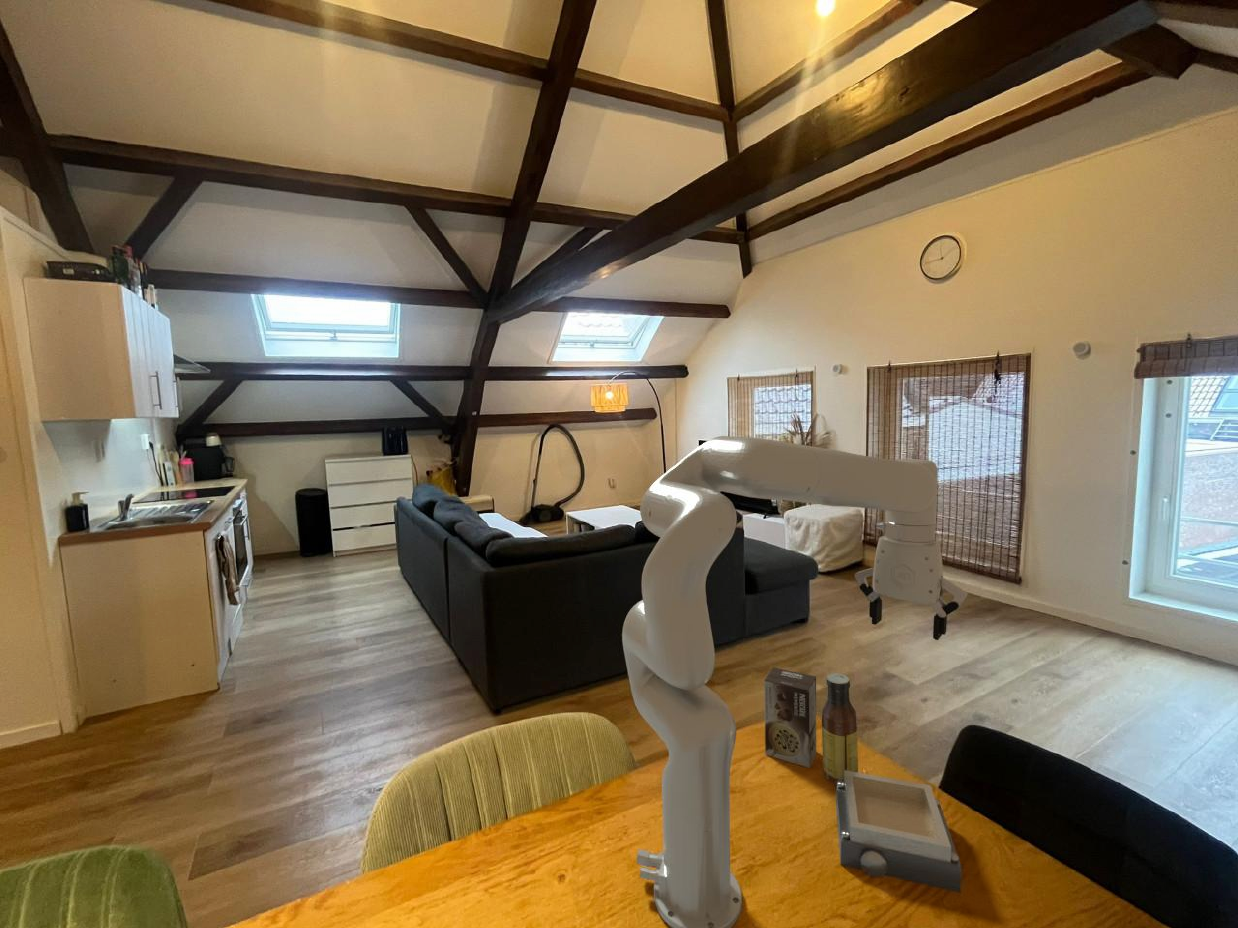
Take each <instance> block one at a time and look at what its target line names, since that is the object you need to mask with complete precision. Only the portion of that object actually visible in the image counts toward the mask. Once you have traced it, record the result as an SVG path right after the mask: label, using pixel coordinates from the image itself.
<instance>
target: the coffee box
mask: <svg viewBox="0 0 1238 928" xmlns="http://www.w3.org/2000/svg"><path fill="white" fill-rule="evenodd" d="M763 687H764V689H763V692H764V743H765V744H764V745H765V747H764V754H765V755H766V756H770V757H773V758H776V759H779V760H783V761H786V762H789V763H792V764H795V765H798V766H801V767H805V768H808V769H810V768H811V766H812V764H813V762H814V760H815V757H816V754H817V676H815V675H810V674H807V673H806V674H805V673H802V672H797V671H792V670H788V669H783V668H778V667H772V668H771V669H770V672H769V673H768V674H767V675H766V676H765V678H764V680H763Z"/></svg>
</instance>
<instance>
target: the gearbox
mask: <svg viewBox="0 0 1238 928" xmlns="http://www.w3.org/2000/svg"><path fill="white" fill-rule="evenodd" d="M835 808H836V818H837V820H836V821H837V833H838V834H837V835H838V847H839V859H840V866H844V867H848V868H852V869H856V870H861V871H864V872H865V873H866V874H867V875H868V876H870V877H873V878H880V877H883V876H888V877H891V878H895V879H899V880H904V881H908V882H913V883H917V884H921V885H925V886H931V887H934V888H939V889H943V890H948V891H952V892H957V893H960V894H961V891H962V889H961V887H962V864H961V862H960V856H959V855H958V853H957V850H956V847H955V844H954V842H953V838H952V835H951V832H950V829H949V826H948V823H947V820H946V817H945V814H944V811H943V809H942V804H941V801H940V799H939V798H935V793H934V792H933V789H932V786H931V784H925V783H918V782H913V781H907V780H902V779H895V778H892V777H891V778H890V777H884V776H878V775H874V774H873V775H872V774H867V773H861V772H858V773H857V772H851V771H846V770H844V782H843V781H836V784H835Z"/></svg>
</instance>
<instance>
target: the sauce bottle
mask: <svg viewBox="0 0 1238 928" xmlns="http://www.w3.org/2000/svg"><path fill="white" fill-rule="evenodd" d="M826 685H827V700H826V702H825V704H824V707H823V709H822V713H821V738H822V739H821V743H822V767H823V773H824V776H825V778H826V779H827V780H828V781H829V782H831V783H832V784H834V785H836V781H843V782H844V770H846V771H851V772H857V773H859V746H858V744H859V743H858V726H857V712H856V709H855V708H854V706H853V703H852V702H851V700H850V699H851V698H850V687H851V680H850V678H849V677H848V676H847V675H845V674H841V673H836V672H834V673H830V674H828V675H827V676H826Z"/></svg>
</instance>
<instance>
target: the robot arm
mask: <svg viewBox="0 0 1238 928" xmlns="http://www.w3.org/2000/svg"><path fill="white" fill-rule="evenodd" d="M938 471H939V470H938V466H937V464H936V463H935V462H934V461H932V460H927V459H921V458H898V459H888V458H881V457H875V456H868V455H861V454H856V453H851V452H846V451H842V450H837V449H831V448H823V447H818V446H810V445H805V444H798V443H793V442H784V441H781V440H780V441H779V440H772V439H767V438H766V439H765V438H760V437H747V436H745V437H744V436H728V435H720V436H716V437H715V436H714V437H713V438H710V439H708V440H707V441H705V442H703V443H702V444H701V445H698V446H697V447H696V448H695V449H694V450H692V451H691V452H689V454H687V455H686V456H685V457H683V459H680V460H679V461H678V463H676V464H675V465H674V466H672V467H671V468H670V469H669V470H668V471H666V472H665V473H664V474H663V475H661V476H660V477H659V478H657V479H656V480H655V481H654V482H653V483H652V484H651V485H650V486H649V487H648V489H647V490H646V491H645V493H644V494H643V496H642V498H641V499H642V500H641V502H640V506H639V507H640V508H639V512H640V513H639V514H640V517H641V521H642V523H643V525H644V526H645V527H646V529H647V530H648V531H649V532H651V533H652V534H653V535H655V536H656V537H659V539H658V541H657V542H656V544H655V546H654V547H653V549H652V551H651V553H650V554H649V555H648V557H647V559H646V561H645V564H644V566H643V571H642V574H641V595H642V599H641V600H640V601H638V602H637V603H636V604H634V605H633V606H632V607H631V608H630V610H629V611H628V613H627V615H626V617H625V619H624V622H623V626H622V633H621V637H622V639H621V641H622V649H623V654H624V659H625V660H624V661H625V665H626V669H627V676H628V679H629V684H630V690H631V695H632V698H633V701H634V704H635V707H636V709H637V711H638V713H639V714H640V715H641V717H642V718H643V719H644V721H645V722H646V723H647V724H648V725H649V726H650V727H651V728H652V729H653V730H654V731H655V733H656V734H657V735H658V737H659V738H660V739H661V740H662V741H663V743H664V744H665V745H666V747H667V751H668V760H667V763H666V765H665V766H664V769H663V772H662V777H661V778H662V779H661V798H662V802H661V803H662V840H663V843H662V844H663V845H662V847H663V848H662V849H663V852H662V851H659V852H658V853H657V854H656V853H654V852H651V851H649V850H645V849H641V848H639V849H638V851H637V855H636V864H637V865H639V866H641V868H640V870H639V871H640V872H639V877H640V879H643V880H651V881H654V882H653V883H654V884H653V900H654V904H655V907H656V909H657V912H658V913H659V915H660V917H661V918H662V920H663V921H664V922H665V923H666V924H667V925H668V926H669V927H671V928H732V927H734V925H735V924H736V922H737V921H738V919H739V917H740V915H741V912H742V906H743V905H742V903H743V902H742V901H743V900H742V899H743V896H742V888H741V886H740V884H739V881H738V880H737V878H736V875H734V873H733V872H732V871H731V809H730V808H731V805H730V804H731V802H730V801H731V797H730V795H731V794H730V793H731V791H730V789H731V787H730V785H731V783H730V780H731V767H732V766H731V765H732V760H733V754H734V749H735V746H736V745H735V744H736V740H737V724H736V721H735V718H734V715H733V713H732V711H731V710H730V708H729V707H728V705H727V704H726V702H724V701H723V699H722V698H721V697H720V696H718V695H717V693H715V692H713V691H712V689H710V688H709V687H708V686H707V685H706V684H707V683H708V682H709V681H710V678H711V677H712V675H713V672H714V669H715V663H716V660H715V658H716V655H715V653H716V652H715V646H714V639H713V634H712V627H711V622H710V621H711V620H710V614H709V609H708V604H707V603H708V602H707V593H706V591H707V590H706V581H707V576H708V575H709V572H710V569H711V567H712V565H713V564H714V562H715V561H716V560H717V558H718V556H720V554H721V553H722V552H723V550H724V549H725V548H726V547H727V545H728V544H729V543H730V541H731V540H732V538H733V536H734V533H735V532H736V531H735V530H736V527H737V522H738V521H737V517H738V515H737V511H736V508H735V506H734V504H733V501H731V500H730V498H728V496H725V494H722V493H721V492H724V493H728V494H729V493H730V494H733V495H737V496H742V497H747V498H754V499H755V498H756V499H763V500H775V501H777V500H778V501H786V502H787V501H789V502H797V503H805V504H815V505H822V506H831V507H848V508H849V507H850V508H861V509H869V510H878V511H879V510H880V511H885V513H884V515H885V516H884V519H883V521H877V522H876V524H875V526H876V529H877V530H880V531H882V532H883V536H880V537H879V538H878V542H877V546H876V551H875V555H874V562H873V563H874V564H873V567H870V568H867V569H863V570H859V571H857V572H855V574H854V578H855V580H856V582H857V584H858V585H859V589H860V591H861V592H862V593H863V594H864V595H865V597H866V599H867V601H868V602H869V614H868V615H869V618H871V625H878V624H879V623H880V622H881V621H882V619H883V600H882V598H881V596H882V597H887V598H890V599H891V598H892V599H895V600H900V601H901V600H902V601H906V602H909V603H915V604H920V605H924V606H925V605H927V606H928V605H930V607H931V608H932V610H934V612H936V613H935V614H934V617H933V626H932V627H933V628H932V629H933V631H932V639H934V640H935V641H939V640H940V639H941V637H942V636H943V635H944V636H945V635H946V634H947V627H948V626H947V624H948V623H947V621H948V615H950V614H952V613H953V612H955V611H956V610H958V608H959V607H960V606H961V605H962V604H963V602H965V600H966V598H967V597H968V592H967V591H966V590H964V589H962V588H961V587H959V586H958V585H956V584H955V583H953V582H951V581H950V580H948V579H947V578H945V577H944V567H943V556H942V551H941V546H940V543H939V541H936V525H937V503H938V502H937V500H938V499H937V498H938V496H937V494H938ZM869 577H872V583H871V584H872V586H871V584H870V583H868V579H867V578H869ZM944 590H945V591H947V592H948V593H949V594H951V595H952V596H953V599H952V601H951V600H950V602H948V603H946V602H945V600H944V599H943V598H942V596H943V594H944ZM650 867H651V868H654V869H656V870H654V869H651V868H650Z"/></svg>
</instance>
